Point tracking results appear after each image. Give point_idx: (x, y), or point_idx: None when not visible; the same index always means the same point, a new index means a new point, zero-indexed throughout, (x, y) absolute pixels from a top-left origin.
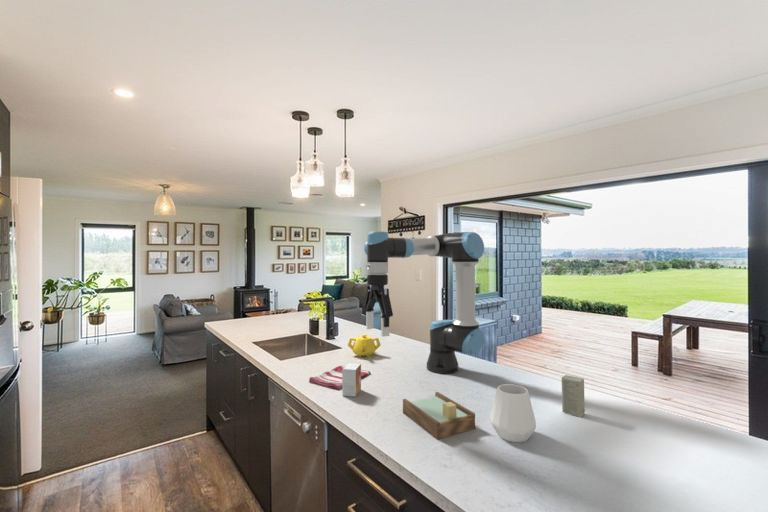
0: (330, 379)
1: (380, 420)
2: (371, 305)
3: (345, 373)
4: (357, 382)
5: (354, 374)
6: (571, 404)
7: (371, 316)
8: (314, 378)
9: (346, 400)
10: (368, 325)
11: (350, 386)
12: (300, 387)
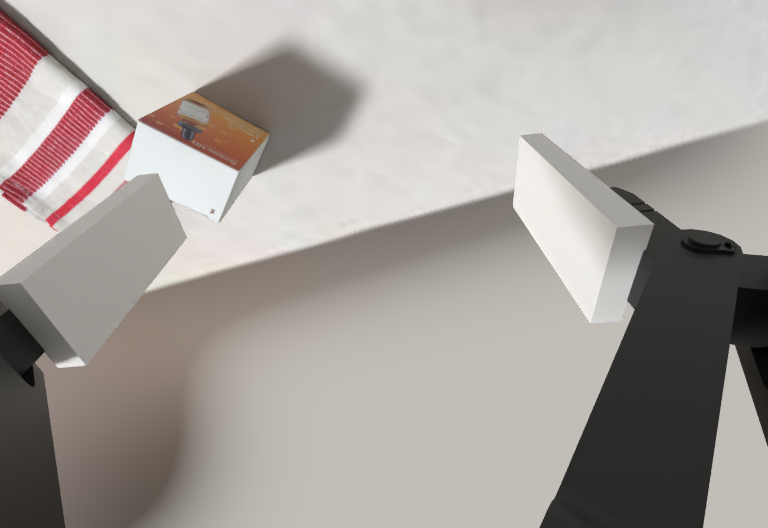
0: (75, 186)
1: (485, 106)
2: (18, 420)
3: (230, 204)
4: (235, 136)
5: (245, 169)
6: None
7: (91, 268)
8: None
9: (293, 172)
10: (165, 242)
11: (253, 165)
12: (158, 282)
